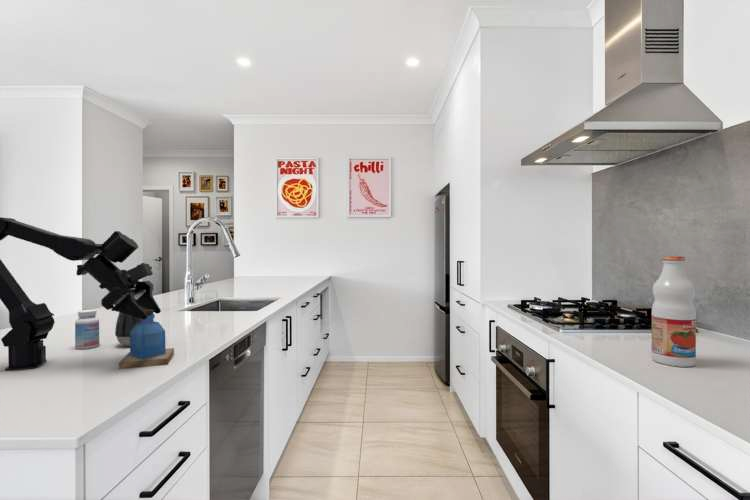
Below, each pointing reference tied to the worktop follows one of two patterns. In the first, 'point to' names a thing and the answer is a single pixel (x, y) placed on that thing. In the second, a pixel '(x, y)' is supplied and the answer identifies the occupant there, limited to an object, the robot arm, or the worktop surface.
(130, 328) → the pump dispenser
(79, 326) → the pill bottle
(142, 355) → the perfume bottle
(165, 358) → the walnut block
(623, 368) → the worktop surface
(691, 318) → the fruit juice
